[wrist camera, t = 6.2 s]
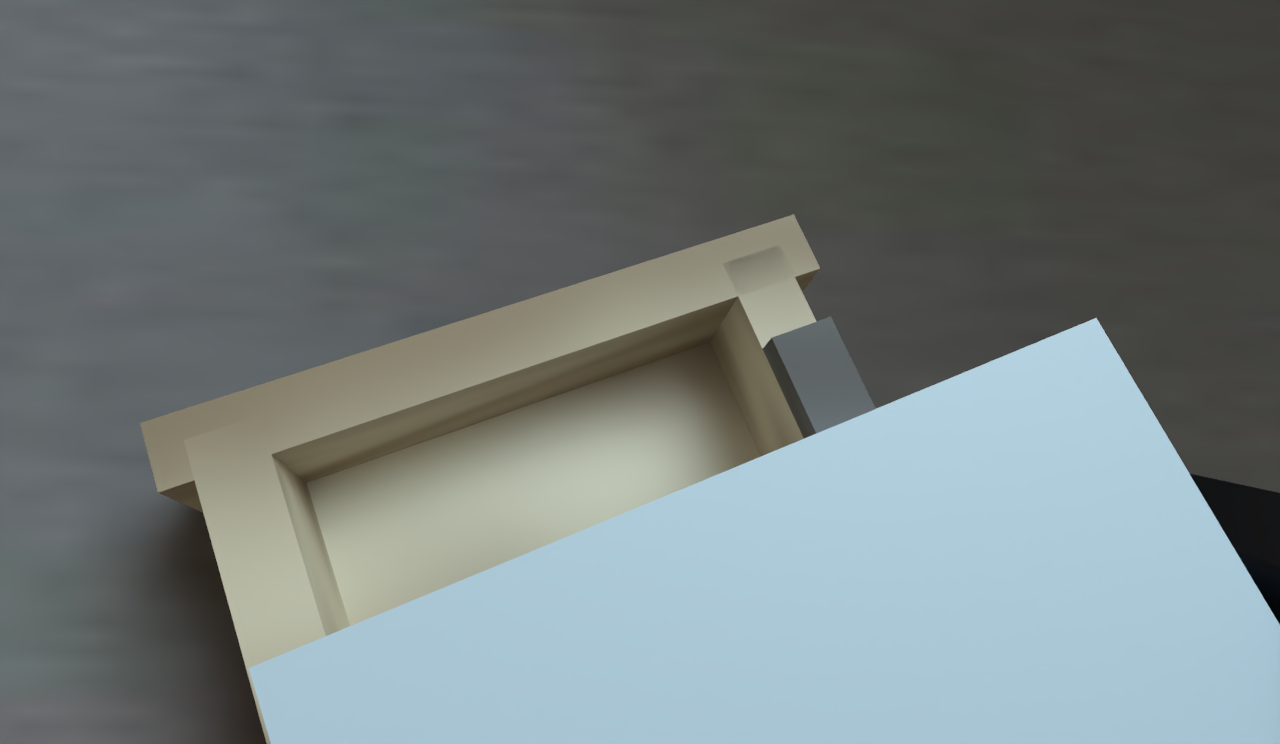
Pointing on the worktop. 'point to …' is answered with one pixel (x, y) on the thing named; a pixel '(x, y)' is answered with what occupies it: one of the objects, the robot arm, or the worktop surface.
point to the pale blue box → (849, 596)
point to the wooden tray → (501, 433)
